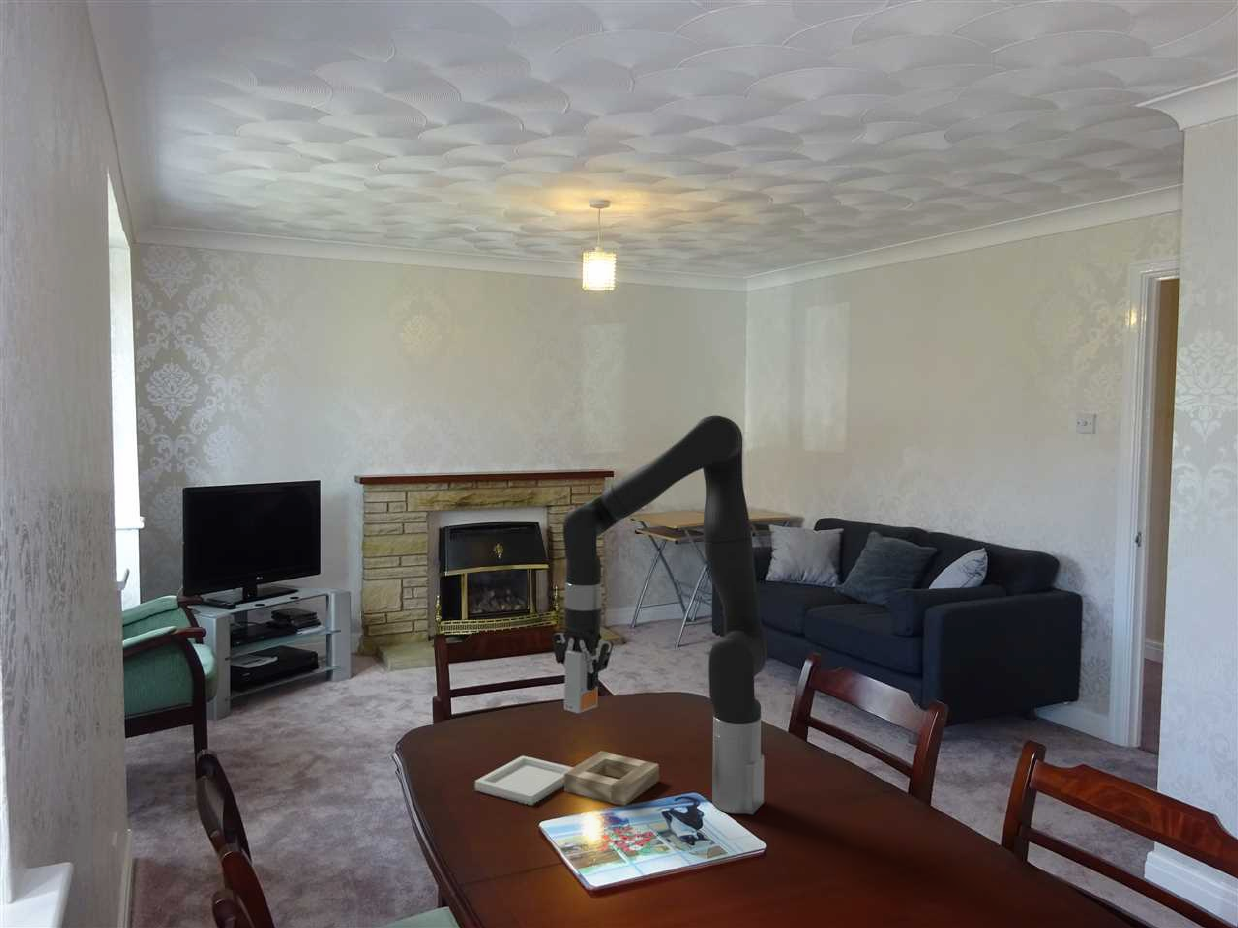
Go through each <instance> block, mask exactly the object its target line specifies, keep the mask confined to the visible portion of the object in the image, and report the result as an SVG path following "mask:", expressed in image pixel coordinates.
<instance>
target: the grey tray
mask: <svg viewBox="0 0 1238 928" xmlns="http://www.w3.org/2000/svg"><path fill="white" fill-rule="evenodd" d="M572 768H574V767H572V766H568V765H565V764H560V763H556V762H551V761H547V760H544V759H543V760H542V759H539V758H536V757H531V756H527V755H521V756H519V757H517V758H515V759H513V760H512V761H510V762H507V763H505V764H504V765H503V766H500V767H499V768H496V769H495V770H493V771H491V772H489V773H488V774H485V775H484V776H482V777H480V778H479V779H476V780H474V791H477V792H480V793H485V794H487V795H491V796H495V797H498V796H499V798H503V799H505V798H506V800H509V801H513V802H516V801H517V803H519V804H523V803H524V804H523V805H527V804H528V806H533V805H535V804H537V803H538V802H540V801H541V800H543V799H545V798H546V797H548V796H549V795H551V794H552V793H554V792H555V791H557V790H559V789H560V788H562V787H564V773H566V772H567V771H569V770H571V769H572ZM545 796H546V797H545ZM542 798H543V799H542ZM539 800H540V801H539ZM536 802H537V803H536ZM534 803H535V804H534Z"/></svg>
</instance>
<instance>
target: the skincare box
mask: <svg viewBox="0 0 1238 928" xmlns="http://www.w3.org/2000/svg"><path fill="white" fill-rule="evenodd" d="M597 652H598V658H599V655H600V651H599V648H597ZM593 655H594V652H593V653H592V654H590V656H593ZM588 672H589V671H588V667H587V662H586V661H585V654H584V653H583V652H579V651H566V652H565V667H564V688H563V689H564V690H563V710H566V711H569V712H572V713H576V714H581V713H583V712H586V711H589V710H593V709H595V708H597V707H598V690H599V685H598V686H597V687H596V689H595V690H593V691H589V690H587V682H588Z"/></svg>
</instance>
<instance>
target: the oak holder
mask: <svg viewBox="0 0 1238 928" xmlns="http://www.w3.org/2000/svg"><path fill="white" fill-rule="evenodd" d="M659 765H660V764H659V763H655V762H652V761H648V760H647V761H646V760H642V759H638V758H633V757H629V756H624V755H619V754H616V753H611V752H607V751H603V750H600V751H599V752H596V753H595V754H593V755H592V756H590V757H589V758H586V759H585V760H584V761H582V762H580V763H579V764H577V765H575V766H574V767H573V768H572V769H571V770H569V771H567V772H566V773H564V785H563V791H564V792H568V793H572V794H575V795H580V796H583V797H587V798H591V799H596V800H599V801H602V802H606V803H610V804H615V805H617V806H622V807H626V806H627V805H628V804H629V803H631V802H633V801H634V800H635V799H637V797H639V796H640V795H642V794H643V793H645V792H646V791H647V790H649V789H650V788H651V787H652V786H654V785H655V784H657V783H658V782H659V780H660V779H659V778H660V777H659V775H660V773H659V772H660V771H659V769H660V768H659V767H660V766H659ZM617 778H618V779H617Z"/></svg>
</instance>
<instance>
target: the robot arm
mask: <svg viewBox="0 0 1238 928" xmlns="http://www.w3.org/2000/svg"><path fill="white" fill-rule="evenodd" d="M701 469H703V475H704V481H705V505H704V514H703V515H704V516H703V517H704V518H703V542H704V552H705V561H706V567H707V570H708V573H709V577H710V579H711V582H712V583H713V585H714V587H715V590H716V591H717V594H718V596H719V598H720V601H721V605H722V611H723V619H724V636H723V637H721V638H719V639H717V640H716V641H715V642H714V643H713V645H712V646H711V647H710V651H709V656H708V667H707V668H708V695H709V702H710V704H711V707H712V767H711V768H712V771H711V772H712V776H711V782H712V783H711V786H712V787H711V788H712V790H711V792H712V793H711V794H712V795H711V799H712V800H711V801H712V802H711V803H712V805H713V806H714V807H715V808H716V809H718V810H720V811H722V812H726V813H731V814H749V815H753V814H755V812H756V811H758V809H760V807H761V806H762V805H763V804H764V803H765V755H764V754H762V751H761V750H762V749H761V748H762V747H761V746H762V744H761V743H762V705H761V702H760V701H759V700H758V699H756V698H755V695H756V694H755V677H756V676H757V675H759V674H760V672H762V671H763V669H764V668H765V665H766V663H767V659H768V649H767V643H766V638H765V634H764V630H763V625H762V620H761V616H760V611H759V609H760V608H759V604H758V591H757V590H758V589H757V580H756V570H755V569H756V568H755V557H754V556H755V555H754V548H753V547H754V546H753V538H752V531H751V530H752V529H751V523H750V517H749V510H748V505H747V501H746V497H745V492H744V486H743V485H744V484H743V435H742V432H741V429H740V427H739V425H738V424H737V423H736V422H735V421H733V420H732V419H731V418H728V417H726V416H722V415H709V416H705V417H704V418H702V419H700V420H699V421H698V422H697V424H696V425H695V426H693V428H691V429H690V430H689V431H688V432H687V433H686V434H685V435H683V437H681V439H679V440H678V441H676V443H674V444H673V445H672V446H670V447H669V448H668V449H667V450H665V451H664V452H662V453H661V454H660V455H658V456H657V457H655V458H654V459H652V460H650V461H649V462H647V463H645V464H644V465H642V466H640V467H639V468H637V469H636V470H634V471H632V472H630V473H629V474H627V475H626V476H624V477H621V479H619V480H617V481H616V482H615V483H613V484H612V485H610V486H608V487H607V488H606V489H605V490H604V491H603V492H602V493H601V494H600V495H598V496H597V497H595V498H593V499H592V500H590V501H588V502H586V503H584V504H583V505H581V506H577V507H575V508H572V509H571V510H570V511H568V512H567V514H566V515H565V516H564V519H563V525H562V539H563V540H562V541H563V546H564V553H565V557H566V565H565V566H566V567H565V570H566V571H565V588H564V594H563V595H564V597H563V598H564V599H563V602H564V603H563V605H564V606H563V626H564V630H563V632H557V633H554V634H552V635H551V641H552V647H553V652H554V656H555V661H556V663H557V664H559V665H562V666H563V667H564V668H565V652H566V651H579V652H583V653H584V654H585V661H586V662H587V667H588V671H589V672H588V682H587V690H589V691H593V690H595V689H596V687H597V686H598V687H599V673H600V672H601V671H604V670H606V669H607V668H608V666H609V661H610V658H611V656H612V655H611V654H612V651H613V648H614V642H613V641H611V640H610V641H606V640H604V639H603V638H602V636H601V626H602V596H603V595H602V585H601V579H602V576H601V575H602V562H601V558H600V555H598V554H597V553H598V552H597V549H598V548H597V537H599V536H600V535H602V534H604V533H605V532H607V530H609V529H611V527H614V526H615V525H616V524H617V523H618V522H620V521H621V520H624V519H627V518H628V517H630V516H632V515H633V514H634V513H636V512H638V511H639V510H641V509H643V508H644V507H645V506H647V505H649V504H651V502H653V501H655V500H656V499H657V498H658V497H660V496H661V495H663V494H664V492H666V491H668V490H669V488H671V487H673V486H674V485H675V484H677V483H678V482H680V481H681V480H683V479H685V478H686V477H687V476H690V475H692V474H693V473H695V472H698V471H699V470H701ZM565 642H566V643H565ZM566 645H567V647H566ZM598 647H599V648H598ZM597 649H598V650H599V658H598V652H597ZM593 652H594V655H593V656H590V654H592V653H593Z"/></svg>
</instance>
